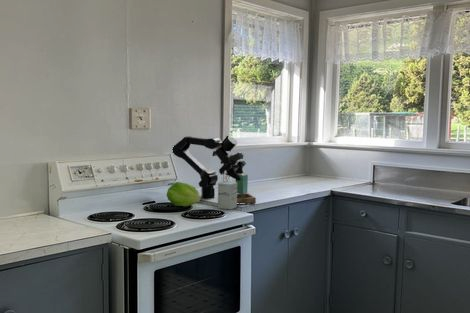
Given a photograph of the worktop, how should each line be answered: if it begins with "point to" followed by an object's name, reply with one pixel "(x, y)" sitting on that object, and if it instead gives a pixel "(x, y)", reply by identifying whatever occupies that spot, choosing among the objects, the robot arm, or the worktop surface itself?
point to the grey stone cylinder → (227, 195)
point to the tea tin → (242, 183)
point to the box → (245, 198)
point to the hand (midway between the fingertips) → (242, 179)
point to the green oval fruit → (183, 194)
